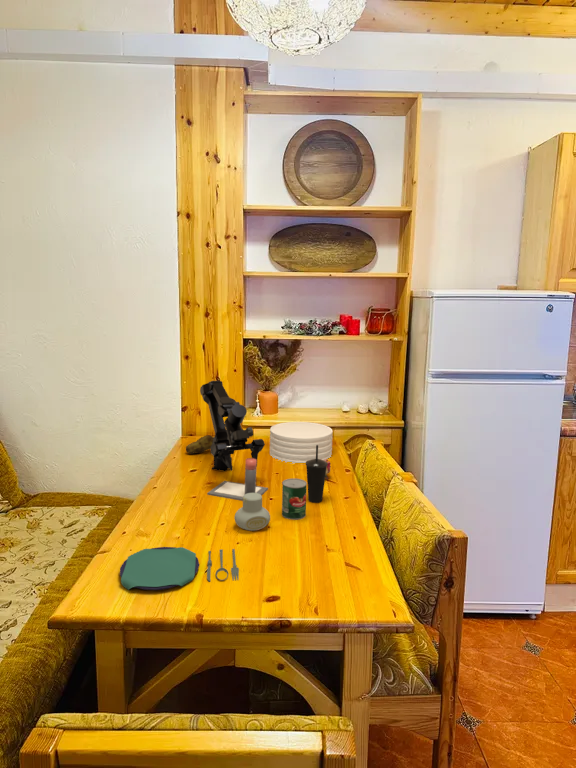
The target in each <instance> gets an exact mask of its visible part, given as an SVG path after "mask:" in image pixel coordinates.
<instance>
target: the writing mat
mask: <svg viewBox="0 0 576 768" xmlns="http://www.w3.org/2000/svg"><path fill="white" fill-rule="evenodd" d="M268 490H269V488H268V487H266V486H265V487H264V486H260V485H256V490H255V493H258V494H260V495H261V496H262V495H264V494H265V493H266V492H267V491H268ZM206 494H207V496H213V497H219V498H225V499H230V500H237V501H241V502H243V496H244V494H245V483H241V482H235V481H234V482H233V481H229V480H228V481H227V480H224V481H222V482H220V483H219V484H218V485H216V486H215V487H214V488H212V489H211V490H210V491H208V492H207V493H206Z"/></svg>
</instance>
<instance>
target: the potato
mask: <svg viewBox="0 0 576 768" xmlns="http://www.w3.org/2000/svg"><path fill="white" fill-rule="evenodd" d="M214 437H215V436H212V435H209V434H208V435H204V436H201V437H200V438H198V439H197V440H196V441H193V442H190V443H189V444H187V445H186V447H185V452H186V453H187V454H190V455H194V454H201V453H205V452H206V451H210V448H211V445H212V443H213V439H214Z"/></svg>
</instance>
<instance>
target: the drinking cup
mask: <svg viewBox="0 0 576 768" xmlns="http://www.w3.org/2000/svg"><path fill="white" fill-rule="evenodd" d="M327 462H328V461H327ZM327 462H326V461H323V460H321V459H318V445H316V459H311V460H308V461H306V464H305V465H306V479H307V481H306V483H307V499H308V502H310V503H314V504H319V503H322V501H323V496H324V488H325V484H326V483H325V482H326V478H325V475H326V468H327V465H328V463H327Z"/></svg>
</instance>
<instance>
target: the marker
mask: <svg viewBox="0 0 576 768" xmlns="http://www.w3.org/2000/svg"><path fill="white" fill-rule="evenodd" d="M256 466H257V467H258V459H257V460H256V459H254V458H252V457H250V458H249V457H248V458H246V459H245V470H244V472H245V473H244V484H245V494H247V493H255V490H256V486H257V467H256ZM245 494H244V495H245Z"/></svg>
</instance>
